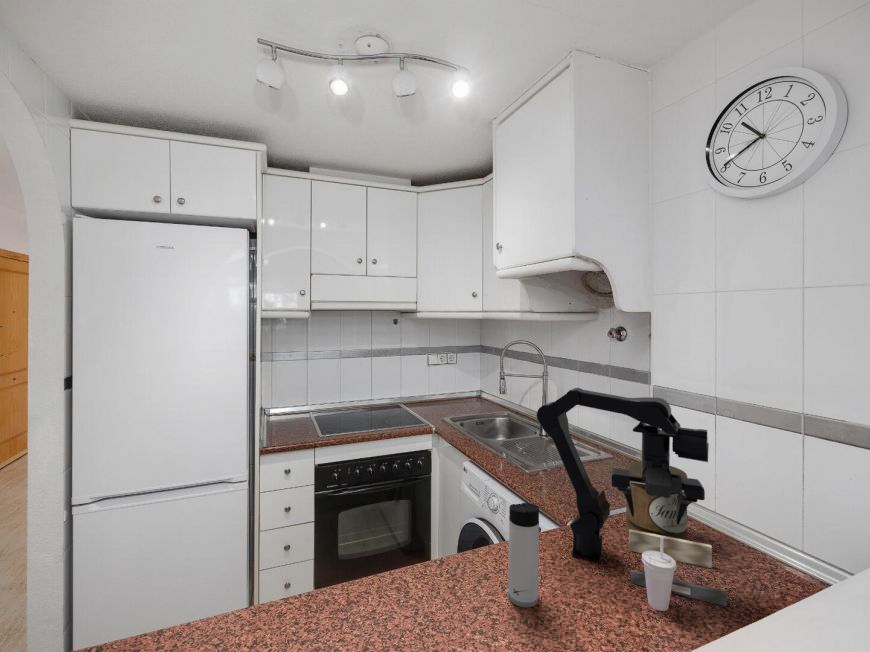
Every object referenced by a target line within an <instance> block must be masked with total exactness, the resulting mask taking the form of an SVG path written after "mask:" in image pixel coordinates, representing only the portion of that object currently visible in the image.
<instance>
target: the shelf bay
mask: <svg viewBox="0 0 870 652" xmlns="http://www.w3.org/2000/svg"><path fill="white" fill-rule="evenodd" d="M660 538H663V553H665V554H667V555H669V556H670V557H672V558H673V559H674V560H675V561H676V562H681V563H686V564H689V565H695V566H699V567H704V568H709V569H712V568H713V566H712V563H713V561H712V560H713V546H712V545H711V544H708V543H707V544H706V543H702V542H698V541H691V540H688V539H687V540H682V539H677V538H672V537H667V536H662V535H657V534H651V533H646V532H641V531H636V530H631V529H629V533H628V551H629V552H633V553H634V552H635V553H639V554H642V553H643V552H645V551H658V552H660ZM633 583H634V584H633ZM630 584H633V585H637V586H641V585H642V586H641V587H646V579H645V571H644V572H643V571H638V570H635V569H630ZM671 594H674V595H678V596H684V597H687V598H691V599H696V600H699V601H704V602H708V603H712V604H716V605H721V606H724V607H727V605H728V603H727V601H728V600H727V599H728V598H727V597H728V594H727V591H724V590H721V589H717V588H713V587H708V586H704V585H699V584H694V583H692V582H691V583H690V582H686V581H683V580H677V579H674V578H673V582H672V588H671Z"/></svg>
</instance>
